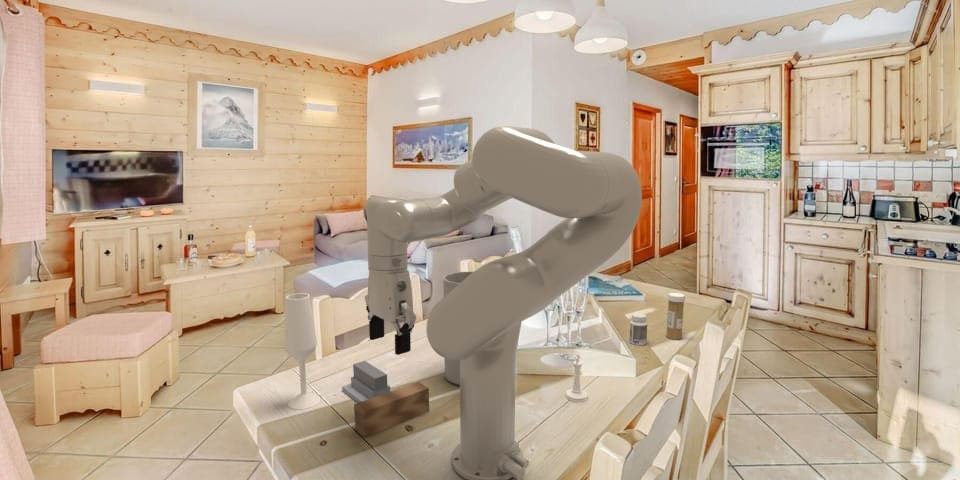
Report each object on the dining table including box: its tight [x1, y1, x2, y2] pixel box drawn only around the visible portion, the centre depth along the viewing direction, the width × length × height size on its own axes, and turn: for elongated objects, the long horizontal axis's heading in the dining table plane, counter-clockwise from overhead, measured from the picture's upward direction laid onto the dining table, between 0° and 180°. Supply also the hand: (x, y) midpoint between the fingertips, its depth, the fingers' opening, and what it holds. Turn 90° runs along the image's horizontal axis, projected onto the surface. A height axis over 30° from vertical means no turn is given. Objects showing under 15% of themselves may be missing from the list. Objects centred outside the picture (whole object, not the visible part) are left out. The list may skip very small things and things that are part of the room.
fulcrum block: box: [341, 360, 394, 403], centre depth 108 cm, size 12×8×6 cm, turn 42°
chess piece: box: [565, 353, 589, 403], centre depth 107 cm, size 5×5×10 cm
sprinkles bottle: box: [665, 292, 686, 341], centre depth 143 cm, size 5×5×13 cm
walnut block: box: [353, 381, 430, 439], centre depth 98 cm, size 15×4×6 cm, turn 131°
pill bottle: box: [629, 312, 648, 346], centre depth 139 cm, size 5×5×8 cm
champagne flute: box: [283, 292, 321, 410], centre depth 104 cm, size 7×7×24 cm
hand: (389, 345), depth 96 cm, fingers open, 9 cm apart
